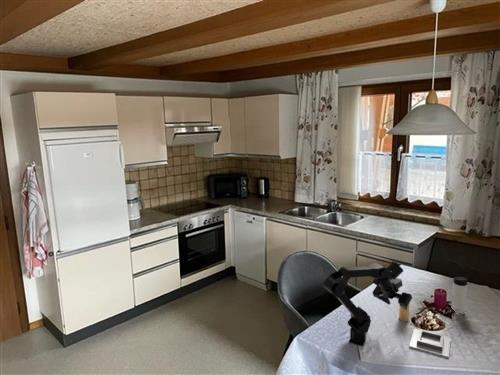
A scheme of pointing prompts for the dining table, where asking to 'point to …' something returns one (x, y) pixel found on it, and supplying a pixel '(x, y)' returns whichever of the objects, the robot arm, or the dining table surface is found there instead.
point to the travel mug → (459, 295)
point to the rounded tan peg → (404, 313)
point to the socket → (430, 342)
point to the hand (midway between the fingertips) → (397, 306)
